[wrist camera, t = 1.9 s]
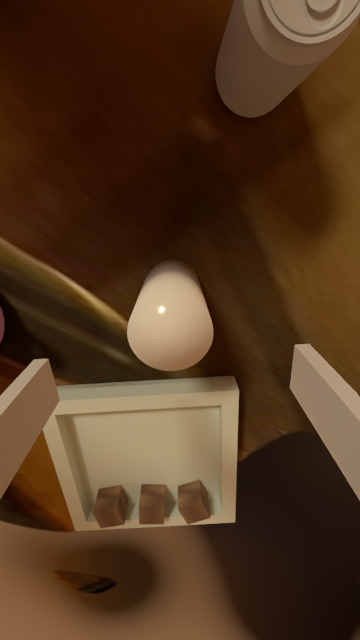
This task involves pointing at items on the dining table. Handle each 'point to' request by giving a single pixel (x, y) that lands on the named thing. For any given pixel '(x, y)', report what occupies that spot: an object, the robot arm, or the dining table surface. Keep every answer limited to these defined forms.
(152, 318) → the white rounded tapered cylinder
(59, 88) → the dining table surface
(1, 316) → the teapot
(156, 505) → the walnut cube
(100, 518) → the walnut cube
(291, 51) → the beverage can
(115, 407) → the tray
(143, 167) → the dining table surface
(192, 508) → the walnut cube
